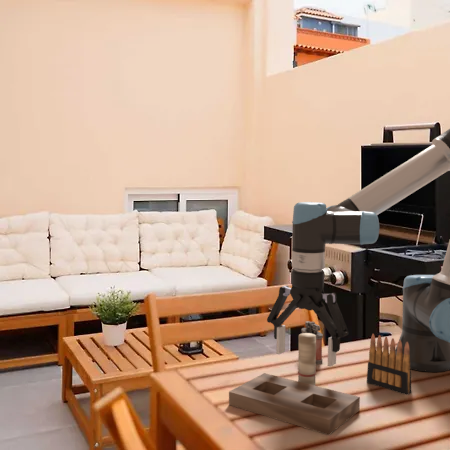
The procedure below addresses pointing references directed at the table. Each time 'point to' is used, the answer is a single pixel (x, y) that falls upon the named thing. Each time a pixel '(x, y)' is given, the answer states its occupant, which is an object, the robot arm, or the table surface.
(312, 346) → the birch dowel
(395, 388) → the ammunition clip
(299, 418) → the walnut board
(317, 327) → the lighter
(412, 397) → the table surface
